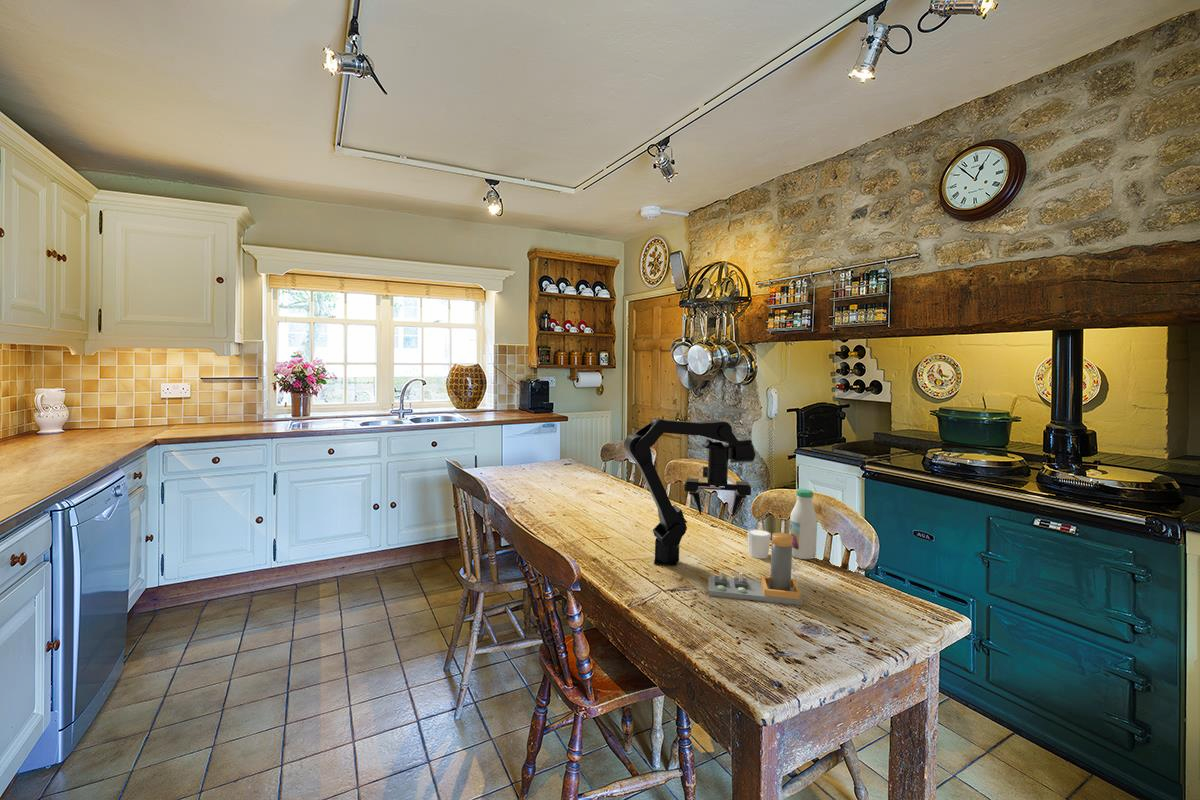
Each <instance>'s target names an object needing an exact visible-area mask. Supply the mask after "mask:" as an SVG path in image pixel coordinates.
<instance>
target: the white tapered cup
mask: <svg viewBox="0 0 1200 800" xmlns="http://www.w3.org/2000/svg"><path fill="white" fill-rule="evenodd" d="M746 533H747V547H748V555H749V557H751V558H755V559H759V560H762V559H767V558H769V552H770V546H771V545H770V544H771V539H772V533H771V532H769V530H764V529H758V528H757V529H755V528H753V529H748V530H747V532H746Z"/></svg>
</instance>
